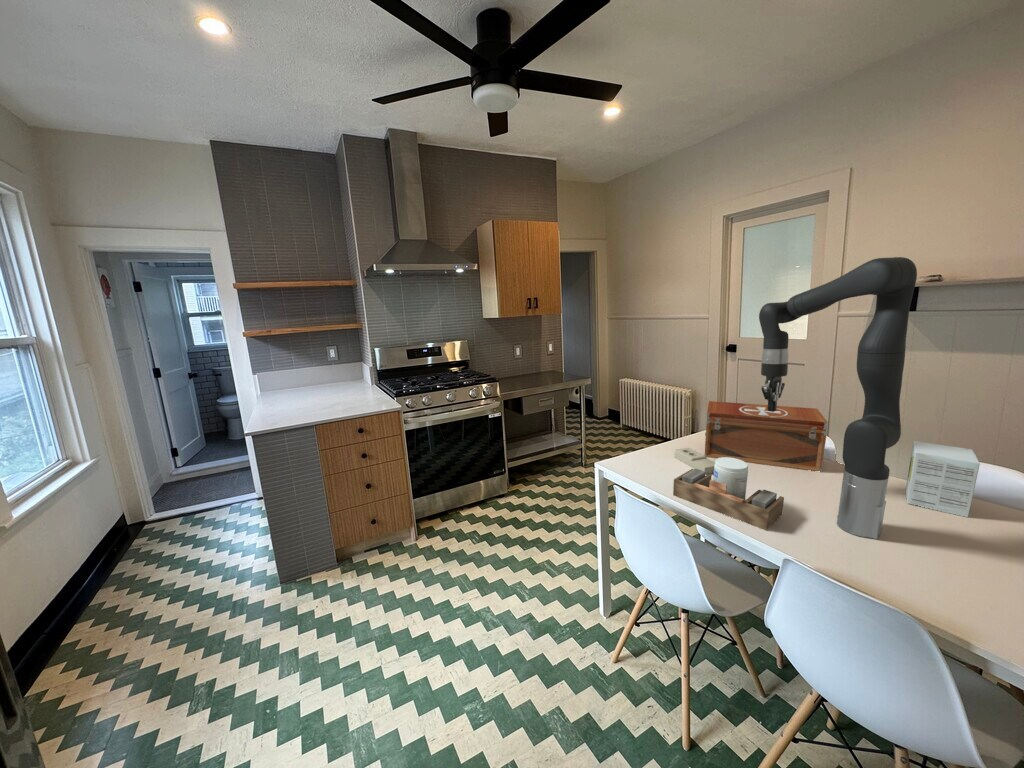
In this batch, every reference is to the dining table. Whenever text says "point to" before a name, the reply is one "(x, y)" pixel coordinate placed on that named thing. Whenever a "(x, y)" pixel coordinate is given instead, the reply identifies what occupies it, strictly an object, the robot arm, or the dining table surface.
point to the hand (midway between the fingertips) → (771, 411)
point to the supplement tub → (732, 475)
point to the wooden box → (766, 435)
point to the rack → (729, 499)
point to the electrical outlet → (694, 460)
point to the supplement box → (942, 477)
